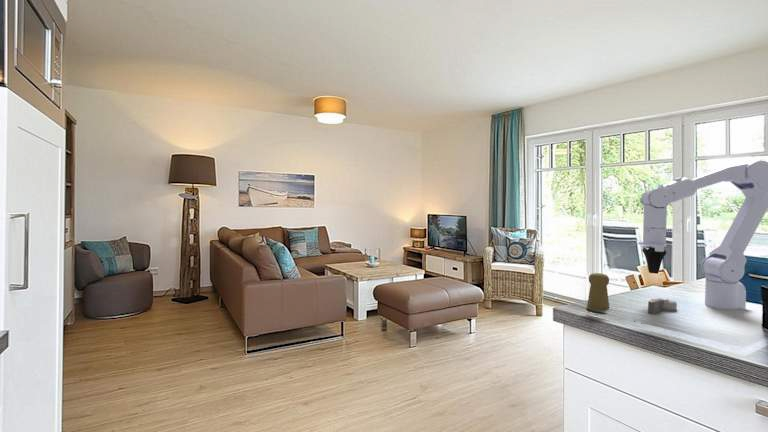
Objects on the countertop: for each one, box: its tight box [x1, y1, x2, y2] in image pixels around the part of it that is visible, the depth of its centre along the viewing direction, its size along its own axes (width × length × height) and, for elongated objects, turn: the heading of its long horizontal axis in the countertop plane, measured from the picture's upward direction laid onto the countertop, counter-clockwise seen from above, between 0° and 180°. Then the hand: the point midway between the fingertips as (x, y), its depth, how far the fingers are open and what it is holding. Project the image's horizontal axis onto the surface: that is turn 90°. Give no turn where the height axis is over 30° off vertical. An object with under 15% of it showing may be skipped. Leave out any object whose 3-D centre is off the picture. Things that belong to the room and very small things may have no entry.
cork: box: [586, 272, 610, 315], centre depth 114 cm, size 6×6×11 cm
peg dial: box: [647, 297, 678, 315], centre depth 110 cm, size 12×6×3 cm, turn 127°
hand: (653, 272), depth 118 cm, fingers closed
